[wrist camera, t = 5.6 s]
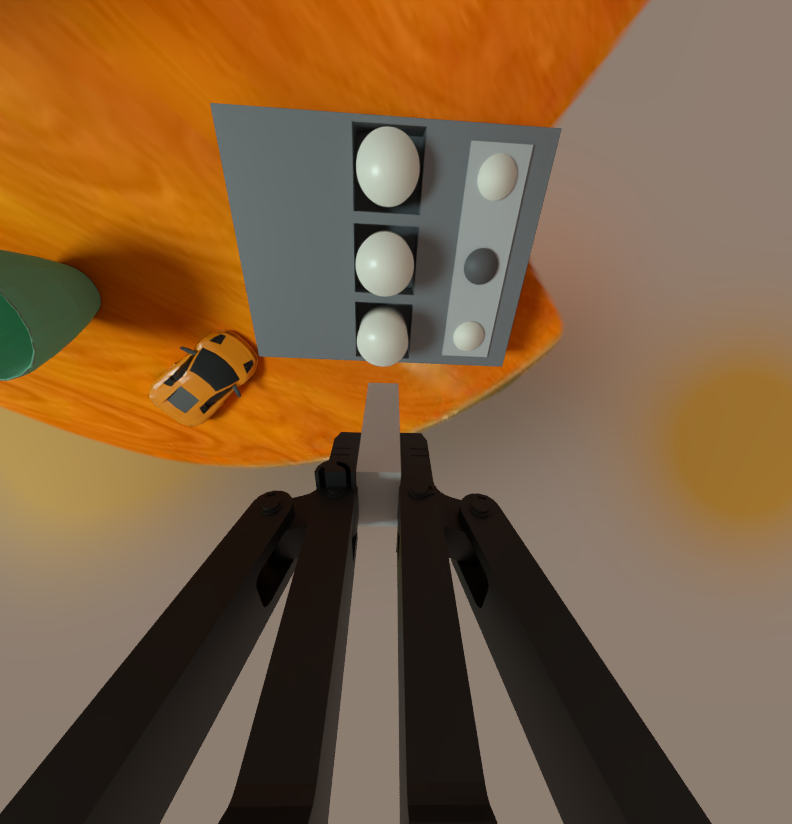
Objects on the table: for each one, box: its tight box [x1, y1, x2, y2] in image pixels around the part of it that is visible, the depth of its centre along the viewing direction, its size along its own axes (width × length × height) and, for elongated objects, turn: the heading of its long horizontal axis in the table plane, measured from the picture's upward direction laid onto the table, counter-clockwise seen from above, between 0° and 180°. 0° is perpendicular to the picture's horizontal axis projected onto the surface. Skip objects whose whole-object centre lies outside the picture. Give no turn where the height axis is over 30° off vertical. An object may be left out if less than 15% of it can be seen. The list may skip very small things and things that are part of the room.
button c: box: [356, 126, 420, 208], centre depth 23 cm, size 4×4×4 cm
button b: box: [356, 230, 414, 297], centre depth 25 cm, size 4×4×4 cm
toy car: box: [148, 330, 258, 427], centre depth 35 cm, size 7×13×3 cm, turn 125°
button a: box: [357, 305, 408, 366], centre depth 29 cm, size 4×4×4 cm
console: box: [210, 103, 561, 366], centre depth 28 cm, size 24×18×4 cm
